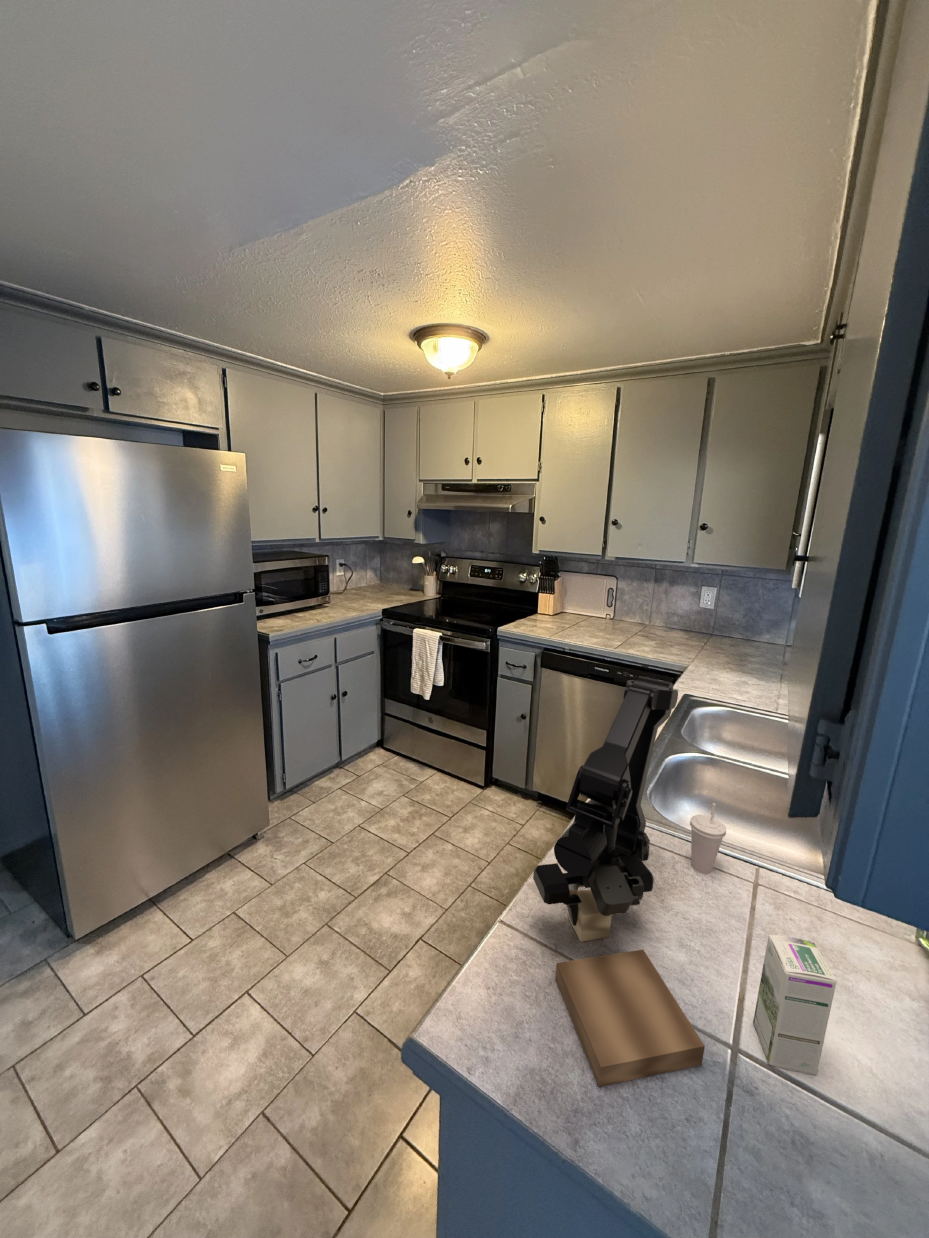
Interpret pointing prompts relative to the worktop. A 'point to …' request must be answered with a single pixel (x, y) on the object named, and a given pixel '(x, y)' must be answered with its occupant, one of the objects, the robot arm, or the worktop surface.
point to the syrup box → (793, 1004)
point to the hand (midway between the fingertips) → (588, 921)
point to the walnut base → (626, 1017)
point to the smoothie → (705, 841)
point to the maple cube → (590, 919)
